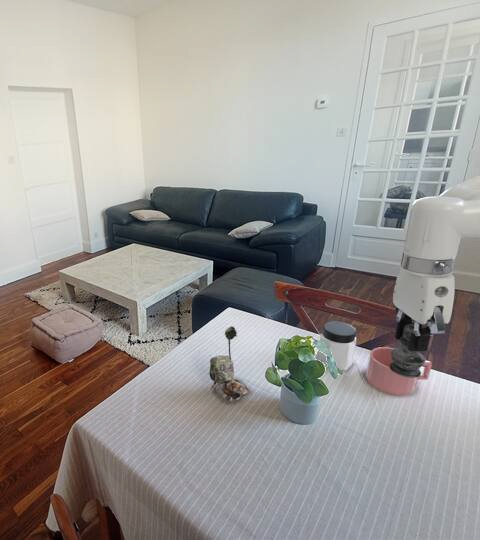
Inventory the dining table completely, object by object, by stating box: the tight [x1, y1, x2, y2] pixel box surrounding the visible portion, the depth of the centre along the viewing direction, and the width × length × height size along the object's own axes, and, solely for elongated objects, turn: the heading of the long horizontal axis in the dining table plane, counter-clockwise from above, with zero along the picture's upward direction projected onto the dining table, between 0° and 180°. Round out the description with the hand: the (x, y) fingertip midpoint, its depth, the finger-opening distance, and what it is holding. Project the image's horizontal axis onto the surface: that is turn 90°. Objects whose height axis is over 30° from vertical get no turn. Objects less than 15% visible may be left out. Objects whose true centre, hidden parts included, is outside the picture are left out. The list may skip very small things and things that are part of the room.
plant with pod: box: [208, 325, 249, 402], centre depth 91 cm, size 8×11×20 cm
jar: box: [317, 320, 357, 371], centre depth 99 cm, size 9×8×12 cm
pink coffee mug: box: [365, 346, 433, 396], centre depth 90 cm, size 14×10×8 cm
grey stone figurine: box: [389, 320, 427, 378], centre depth 71 cm, size 6×6×12 cm
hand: (410, 343), depth 71 cm, fingers closed on grey stone figurine, 3 cm apart
